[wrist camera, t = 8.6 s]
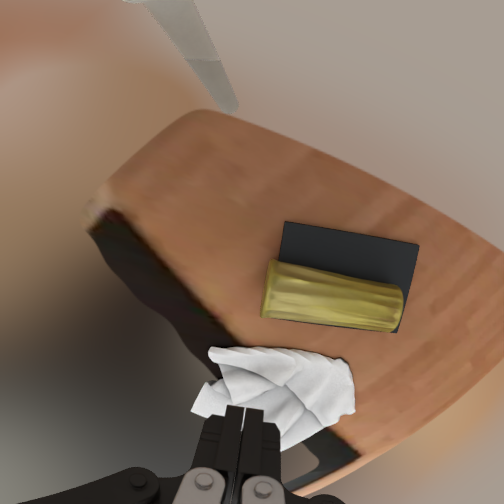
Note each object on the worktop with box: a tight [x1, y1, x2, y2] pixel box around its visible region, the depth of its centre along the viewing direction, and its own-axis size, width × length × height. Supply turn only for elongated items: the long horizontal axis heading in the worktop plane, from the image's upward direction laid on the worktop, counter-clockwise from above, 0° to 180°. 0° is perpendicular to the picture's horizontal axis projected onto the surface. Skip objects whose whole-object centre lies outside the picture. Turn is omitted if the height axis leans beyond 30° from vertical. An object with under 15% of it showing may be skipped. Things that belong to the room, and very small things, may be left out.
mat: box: [275, 221, 419, 333], centre depth 35 cm, size 11×16×1 cm
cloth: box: [191, 346, 356, 451], centre depth 38 cm, size 20×22×2 cm
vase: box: [260, 259, 403, 332], centre depth 32 cm, size 6×6×14 cm
